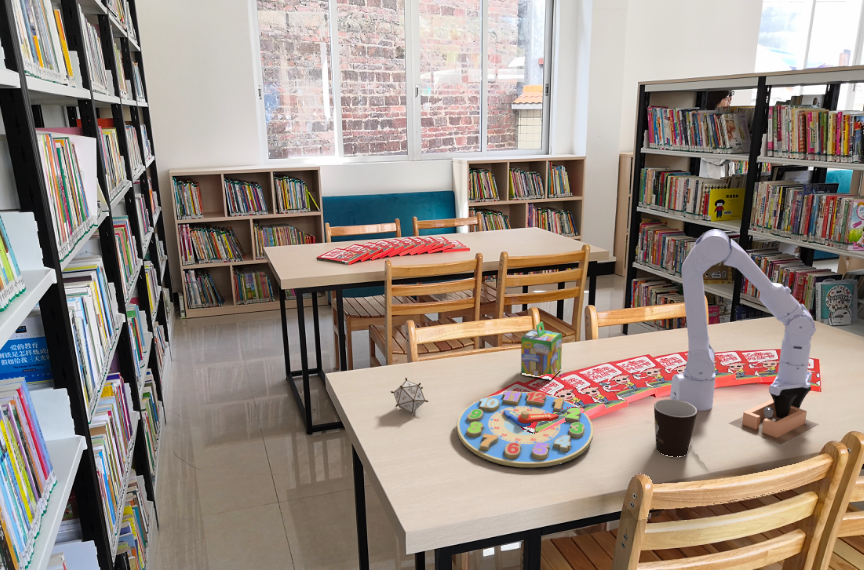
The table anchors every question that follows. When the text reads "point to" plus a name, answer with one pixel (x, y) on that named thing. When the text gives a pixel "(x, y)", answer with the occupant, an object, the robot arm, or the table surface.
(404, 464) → the table surface
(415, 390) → the game die
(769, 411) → the hook post
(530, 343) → the chalk box
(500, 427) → the shape sorting clock
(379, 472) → the table surface
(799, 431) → the stand base
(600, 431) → the table surface
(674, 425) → the coffee mug
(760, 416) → the c link
